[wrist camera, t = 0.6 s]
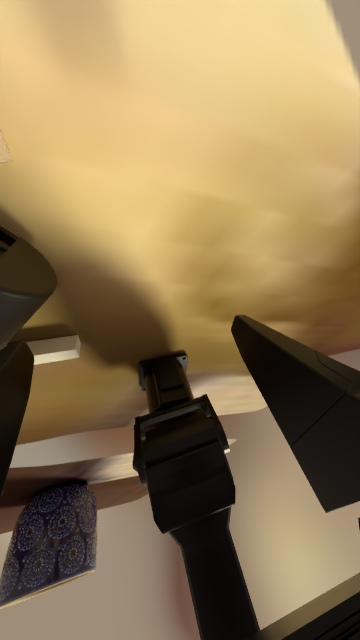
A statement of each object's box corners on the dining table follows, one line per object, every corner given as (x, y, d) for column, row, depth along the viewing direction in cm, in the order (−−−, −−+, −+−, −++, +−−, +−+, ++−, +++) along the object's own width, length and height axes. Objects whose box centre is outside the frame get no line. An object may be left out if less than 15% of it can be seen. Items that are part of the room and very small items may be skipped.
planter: (46, 477, 41) (25, 595, 30) (112, 476, 52) (113, 562, 41) (4, 507, 45) (-28, 620, 35) (73, 500, 56) (65, 584, 45)
